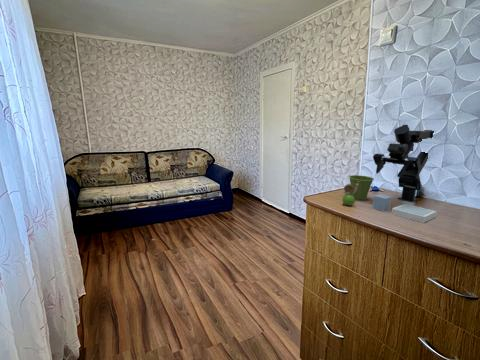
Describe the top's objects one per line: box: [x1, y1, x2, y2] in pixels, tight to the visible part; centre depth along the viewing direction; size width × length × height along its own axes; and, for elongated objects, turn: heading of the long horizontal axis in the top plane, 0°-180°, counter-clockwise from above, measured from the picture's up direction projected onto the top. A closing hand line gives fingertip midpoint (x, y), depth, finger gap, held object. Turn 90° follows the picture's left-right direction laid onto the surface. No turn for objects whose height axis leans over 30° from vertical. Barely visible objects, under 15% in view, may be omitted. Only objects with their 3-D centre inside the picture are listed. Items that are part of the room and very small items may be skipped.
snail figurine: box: [342, 181, 359, 206], centre depth 116 cm, size 5×6×12 cm
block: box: [372, 194, 392, 212], centre depth 112 cm, size 5×5×6 cm
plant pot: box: [348, 174, 375, 201], centre depth 127 cm, size 12×12×11 cm
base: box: [391, 203, 437, 224], centre depth 104 cm, size 12×12×3 cm
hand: (386, 174), depth 110 cm, fingers open, 9 cm apart
